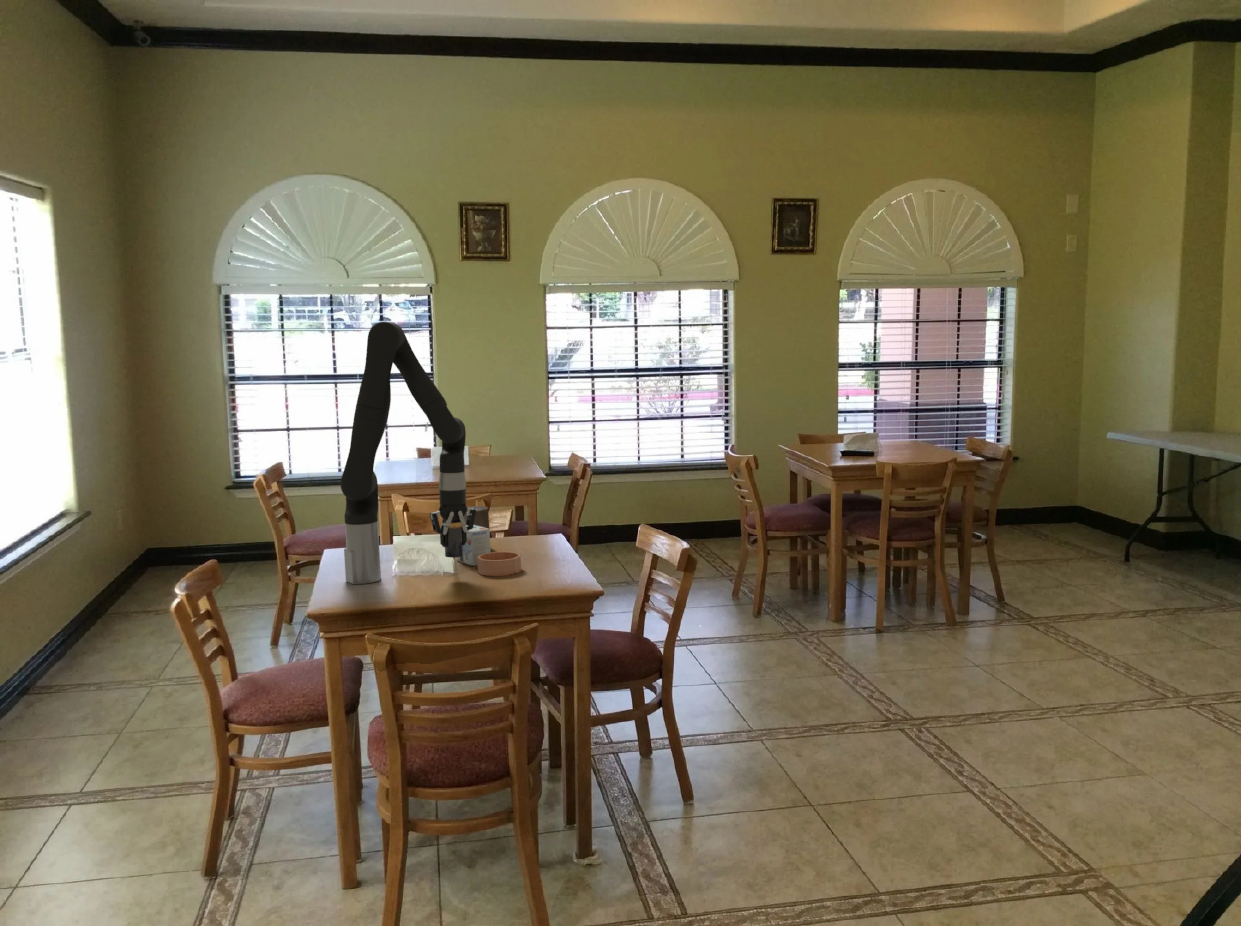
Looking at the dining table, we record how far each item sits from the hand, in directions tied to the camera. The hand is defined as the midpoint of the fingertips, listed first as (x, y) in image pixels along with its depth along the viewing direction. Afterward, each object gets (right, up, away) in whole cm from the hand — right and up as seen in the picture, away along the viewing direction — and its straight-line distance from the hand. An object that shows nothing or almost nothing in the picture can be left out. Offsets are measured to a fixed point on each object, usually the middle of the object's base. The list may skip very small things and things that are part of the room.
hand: (453, 545), depth 292 cm
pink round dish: (+12, -8, +9) cm, 17 cm away
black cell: (0, -3, 0) cm, 3 cm away
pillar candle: (0, -5, +42) cm, 42 cm away
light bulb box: (+2, -7, +23) cm, 24 cm away
